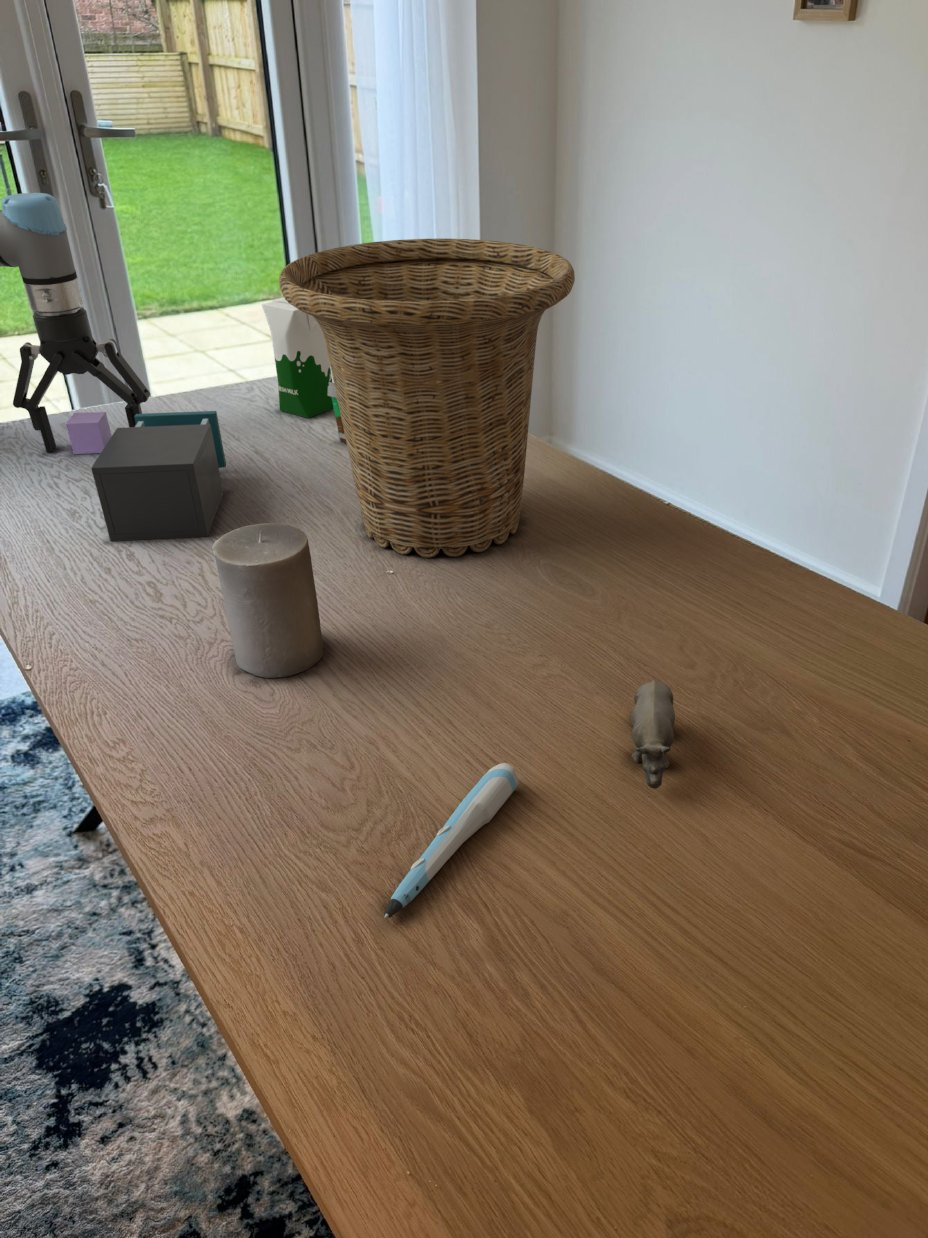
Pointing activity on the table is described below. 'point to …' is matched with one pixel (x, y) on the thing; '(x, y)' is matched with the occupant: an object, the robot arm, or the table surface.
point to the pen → (456, 831)
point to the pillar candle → (270, 599)
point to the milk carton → (299, 359)
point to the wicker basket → (433, 378)
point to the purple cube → (88, 432)
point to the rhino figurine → (653, 729)
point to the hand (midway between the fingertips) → (95, 447)
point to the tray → (186, 419)
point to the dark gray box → (159, 482)
